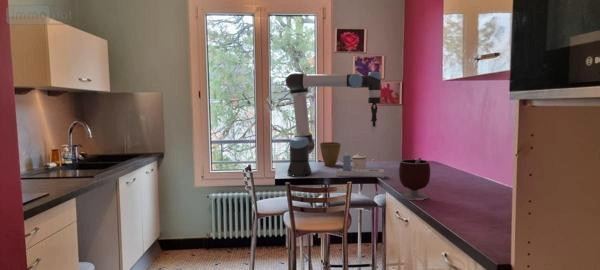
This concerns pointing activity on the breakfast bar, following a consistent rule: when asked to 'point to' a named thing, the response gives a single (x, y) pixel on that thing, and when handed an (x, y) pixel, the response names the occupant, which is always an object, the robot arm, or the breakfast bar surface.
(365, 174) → the panel
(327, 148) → the plant pot
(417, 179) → the mate gourd
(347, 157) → the plug
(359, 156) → the teacup with lid
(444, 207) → the breakfast bar surface
